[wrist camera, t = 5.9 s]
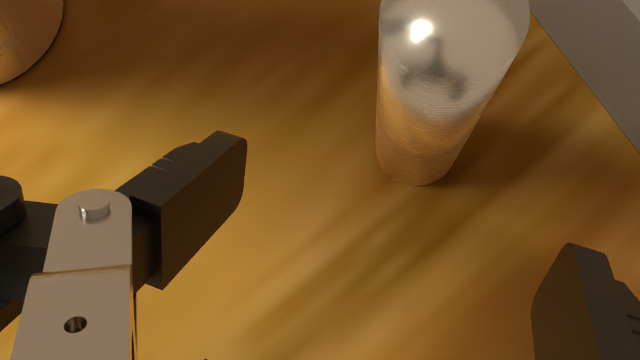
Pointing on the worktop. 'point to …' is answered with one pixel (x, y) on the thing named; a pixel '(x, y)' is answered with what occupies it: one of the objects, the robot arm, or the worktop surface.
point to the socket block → (600, 51)
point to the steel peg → (439, 78)
